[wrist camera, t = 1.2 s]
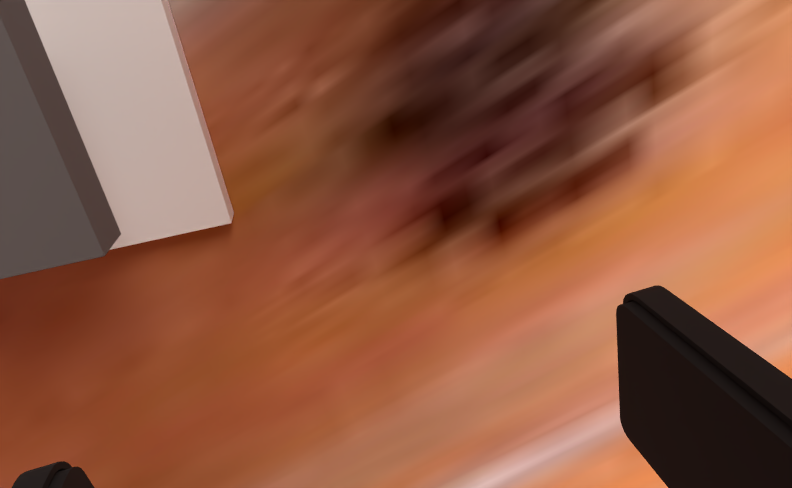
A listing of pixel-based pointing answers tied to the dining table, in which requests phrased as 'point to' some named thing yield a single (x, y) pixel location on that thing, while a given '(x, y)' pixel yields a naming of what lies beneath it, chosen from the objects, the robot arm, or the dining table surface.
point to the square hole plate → (43, 162)
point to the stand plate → (136, 113)
